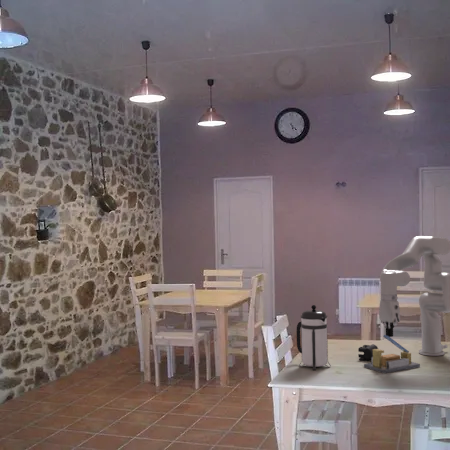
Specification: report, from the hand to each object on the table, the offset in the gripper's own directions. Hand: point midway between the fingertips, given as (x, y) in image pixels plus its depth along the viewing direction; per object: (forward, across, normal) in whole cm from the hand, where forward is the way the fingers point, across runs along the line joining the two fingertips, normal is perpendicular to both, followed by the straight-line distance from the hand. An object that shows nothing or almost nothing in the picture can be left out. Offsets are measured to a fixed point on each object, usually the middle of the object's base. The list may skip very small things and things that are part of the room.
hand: (389, 336), depth 296 cm
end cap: (+15, +19, -3) cm, 24 cm away
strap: (+5, 0, -4) cm, 6 cm away
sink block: (+15, 0, -1) cm, 15 cm away
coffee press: (+15, +21, +30) cm, 39 cm away
